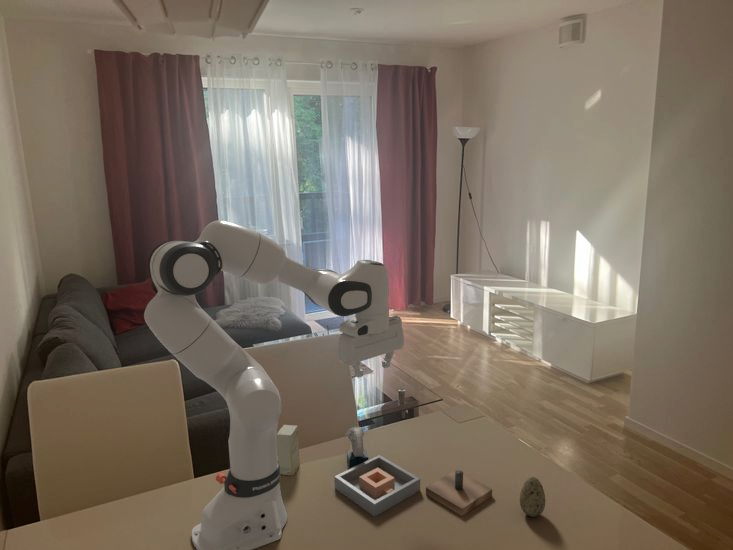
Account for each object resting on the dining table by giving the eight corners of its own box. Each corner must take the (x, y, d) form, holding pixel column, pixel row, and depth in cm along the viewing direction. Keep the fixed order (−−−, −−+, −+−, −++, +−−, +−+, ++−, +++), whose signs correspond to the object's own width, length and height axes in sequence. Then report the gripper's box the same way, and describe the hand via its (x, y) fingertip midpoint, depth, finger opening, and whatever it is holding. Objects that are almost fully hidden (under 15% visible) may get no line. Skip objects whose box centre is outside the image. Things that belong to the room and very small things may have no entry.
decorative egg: (513, 511, 133) (515, 474, 131) (533, 504, 135) (535, 468, 133) (530, 525, 128) (532, 487, 126) (549, 518, 130) (552, 481, 128)
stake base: (461, 516, 132) (462, 492, 130) (425, 494, 140) (425, 471, 139) (492, 496, 139) (492, 473, 138) (455, 476, 148) (456, 454, 147)
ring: (381, 501, 137) (380, 491, 136) (359, 486, 143) (359, 476, 142) (399, 491, 141) (399, 481, 140) (377, 477, 147) (377, 467, 147)
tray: (374, 516, 132) (374, 504, 131) (334, 488, 144) (334, 476, 143) (420, 490, 142) (420, 478, 141) (379, 466, 154) (379, 454, 153)
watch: (364, 455, 159) (363, 421, 157) (369, 470, 152) (369, 434, 149) (345, 458, 158) (344, 423, 156) (350, 473, 151) (349, 436, 148)
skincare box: (293, 476, 150) (291, 435, 147) (277, 474, 150) (275, 434, 148) (300, 464, 156) (298, 425, 153) (285, 462, 156) (283, 423, 154)
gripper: (393, 311, 149) (393, 359, 152) (333, 326, 136) (335, 378, 139) (409, 316, 144) (409, 365, 147) (349, 332, 131) (350, 385, 134)
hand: (372, 371), depth 143 cm, fingers open, 8 cm apart
